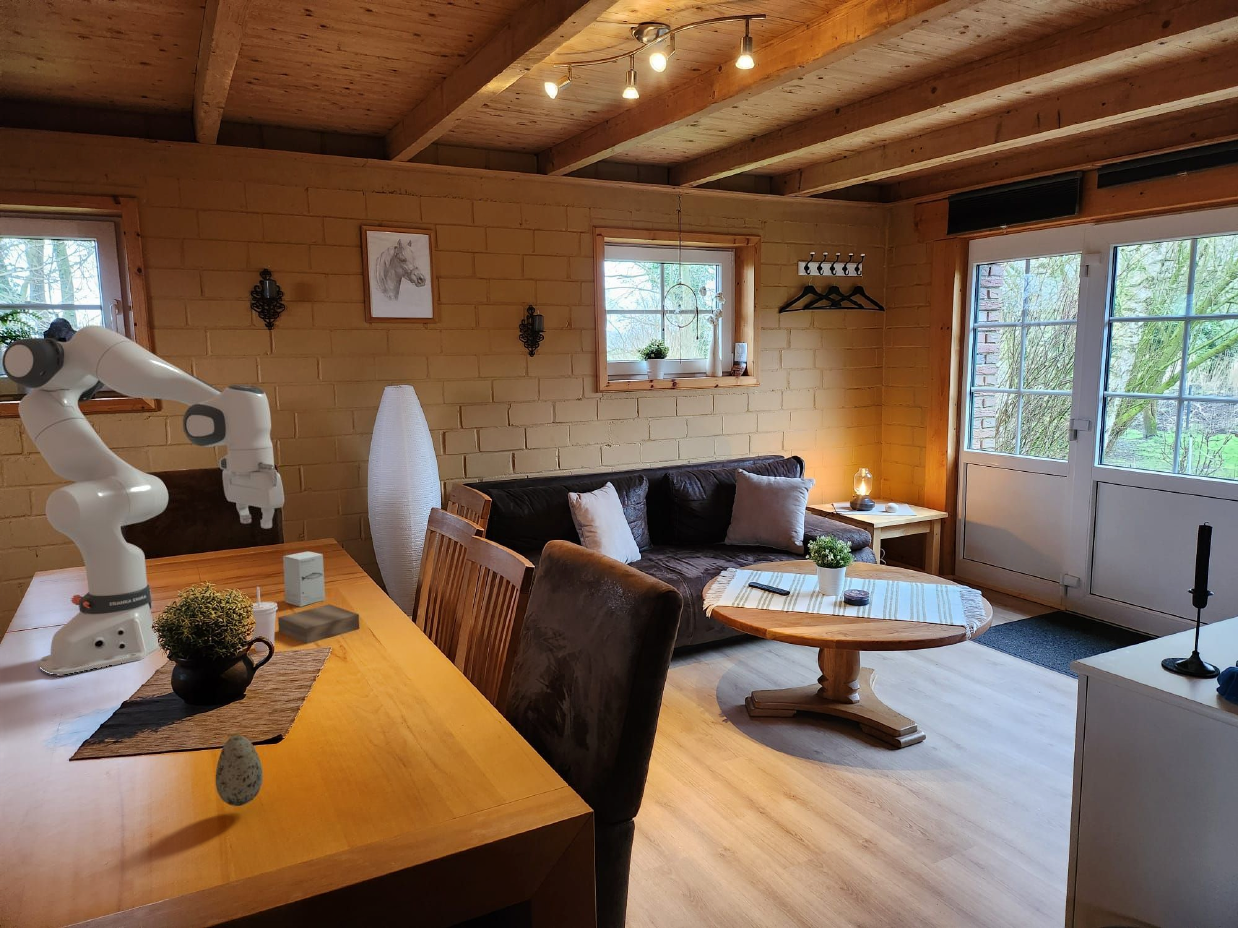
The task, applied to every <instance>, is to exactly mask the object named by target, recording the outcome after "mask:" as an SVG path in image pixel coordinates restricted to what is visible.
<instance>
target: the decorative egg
mask: <svg viewBox="0 0 1238 928" xmlns="http://www.w3.org/2000/svg"><path fill="white" fill-rule="evenodd" d="M263 773H264V772H263V765H262V762H261V760H260V757H259V754H258V752H257V749H256V748H255V747H254V745H253V744H252V741H250V739H248V738H247V737H245V736H244V735H242V734H241V735H240V734H234V735H231V737H229V738H228V740H227V741H225V744H224V745H223V747H222V749H221V751H220V755H219V756H218V760H217V765H216V770H215V787H216V791H217V794H218V796H219V797H220V799H221V800H222V801H223V802H224V803H226V804H227V805H230V806H233V807H241V806H244V805H246V804H249V803H250V802H252V801H253V800H254V799H255V797H257V796H258V794H259V792H260V790H261V788H262V785H263V779H264V774H263Z"/></svg>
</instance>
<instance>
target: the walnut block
mask: <svg viewBox="0 0 1238 928" xmlns="http://www.w3.org/2000/svg"><path fill="white" fill-rule="evenodd" d="M277 623H278V624H277V625H278V632H279V634H282V635H285V636H286V637H290V638H292V639H295V640H297V641H299V642H301V643H304V644H305V645H308V644H312V643H315V642H319V641H322V640H326V639H329V638H330V639H331V638H333V637H337V636H340V635H343V634H347V633H348V634H349V633H350V632H354V631H357V630H360V614H359V613H356V612H353V611H350V610H347V609H344V608H341V607H339V606H335V605H333V604H330V603H329V604H325V605H322V606H317V607H314V608H310V609H306V610H302V611H297V612H294V613H289V614H286V615H282V616H279V617H277Z"/></svg>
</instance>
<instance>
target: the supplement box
mask: <svg viewBox="0 0 1238 928" xmlns="http://www.w3.org/2000/svg"><path fill="white" fill-rule="evenodd" d="M282 560H283V561H282V562H283V581H284V596H285V597H284V598H285V603H286V604H289V605H294V606H296V607H300V608H302V607H304V606H307V605H311V604H315V603H319V602H323V601H326V593H325V591H326V590H325V574H324V573H325V572H324V555H323V553H318V552H313V551H303V552H298V553H293V554H288V555H283V556H282Z"/></svg>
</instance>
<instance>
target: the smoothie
mask: <svg viewBox="0 0 1238 928" xmlns="http://www.w3.org/2000/svg"><path fill="white" fill-rule="evenodd" d="M260 593H261V592H260V586H256V599H257V602H254V603H252V604H253V609H252V612H253V616H254V619H255V622H256V624H255V628H254V634H253V635H252V634H251V637H252V640H253V639H254V638H255V637H259V636H262V637H265V638H267V639H269V641H271V642H272V644H273V646H274V647H275V632H276V618H277V616H276V615H277V610H278V603H277V602H275V601H274V602H273V601H262V602H261V594H260ZM253 646H254V650H255V651H256V652H257V653H258V652H259V653H260V652H261V653H263V652H267V651H268V649H267V646H266V645H265V644H264V643H262V642H258V643H256V644H254V643H253Z"/></svg>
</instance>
